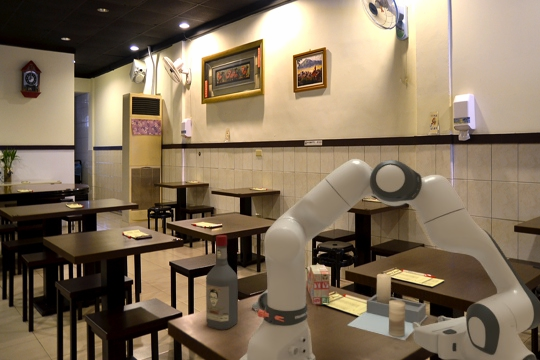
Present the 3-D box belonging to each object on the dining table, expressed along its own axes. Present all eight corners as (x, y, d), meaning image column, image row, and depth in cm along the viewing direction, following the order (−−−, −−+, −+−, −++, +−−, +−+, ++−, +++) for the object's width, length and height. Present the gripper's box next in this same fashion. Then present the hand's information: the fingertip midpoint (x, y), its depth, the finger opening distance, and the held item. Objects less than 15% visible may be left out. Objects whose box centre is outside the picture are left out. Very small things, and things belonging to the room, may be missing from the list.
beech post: (401, 338, 127) (402, 306, 126) (386, 334, 130) (386, 303, 129) (406, 333, 131) (407, 302, 130) (391, 329, 134) (392, 298, 133)
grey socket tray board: (404, 343, 126) (405, 298, 125) (347, 328, 137) (347, 286, 136) (427, 318, 145) (428, 279, 144) (375, 307, 156) (376, 270, 156)
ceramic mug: (282, 306, 157) (282, 286, 157) (277, 314, 149) (277, 293, 149) (255, 304, 159) (255, 284, 159) (249, 312, 151) (249, 291, 151)
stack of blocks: (306, 287, 180) (306, 259, 180) (321, 287, 181) (321, 259, 180) (313, 305, 159) (313, 273, 158) (329, 304, 159) (329, 273, 159)
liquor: (218, 317, 147) (218, 232, 145) (240, 321, 142) (240, 235, 141) (202, 326, 139) (202, 237, 137) (225, 331, 134) (225, 239, 133)
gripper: (496, 321, 110) (454, 305, 123) (438, 336, 102) (399, 316, 114) (496, 345, 110) (454, 326, 123) (438, 361, 102) (399, 339, 115)
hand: (427, 321), depth 119 cm, fingers open, 8 cm apart
